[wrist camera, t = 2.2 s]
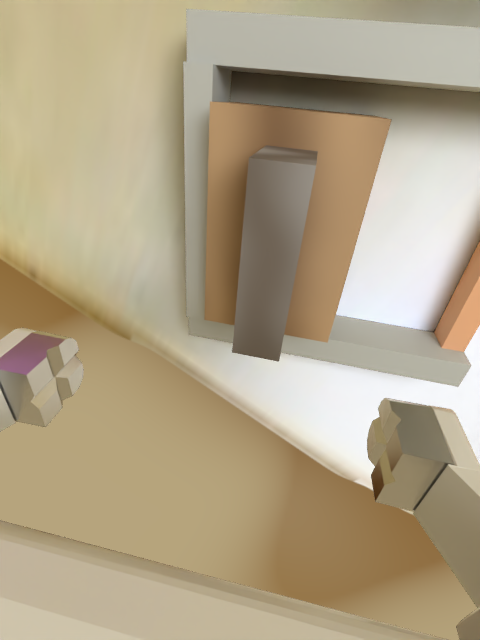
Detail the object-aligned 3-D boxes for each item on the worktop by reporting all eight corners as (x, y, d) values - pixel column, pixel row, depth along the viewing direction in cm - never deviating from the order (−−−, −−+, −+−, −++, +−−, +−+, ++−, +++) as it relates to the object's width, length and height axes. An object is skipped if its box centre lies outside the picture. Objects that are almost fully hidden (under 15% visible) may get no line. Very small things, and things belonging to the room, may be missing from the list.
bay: (610, 51, 16) (684, 37, 13) (443, 356, 26) (460, 391, 23) (207, 23, 18) (182, 6, 15) (202, 311, 29) (186, 338, 26)
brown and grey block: (373, 115, 19) (415, 124, 10) (326, 297, 26) (328, 394, 17) (237, 102, 20) (173, 100, 11) (226, 280, 27) (180, 363, 18)
